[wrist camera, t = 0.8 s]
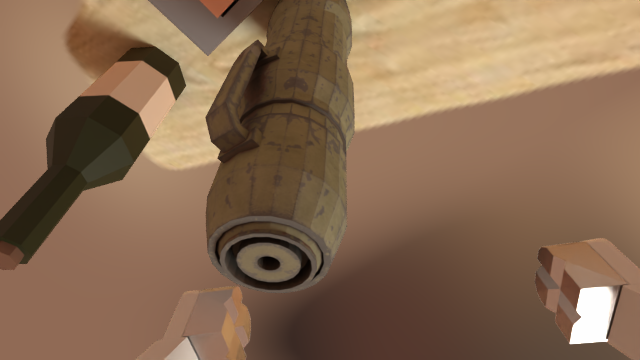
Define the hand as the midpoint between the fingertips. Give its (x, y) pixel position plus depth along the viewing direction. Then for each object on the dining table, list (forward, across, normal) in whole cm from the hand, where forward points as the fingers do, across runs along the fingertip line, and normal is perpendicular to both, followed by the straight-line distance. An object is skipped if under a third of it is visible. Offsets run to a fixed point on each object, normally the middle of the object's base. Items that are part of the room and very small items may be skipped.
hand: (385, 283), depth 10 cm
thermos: (+40, +2, -3) cm, 41 cm away
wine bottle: (+43, +24, 0) cm, 49 cm away
